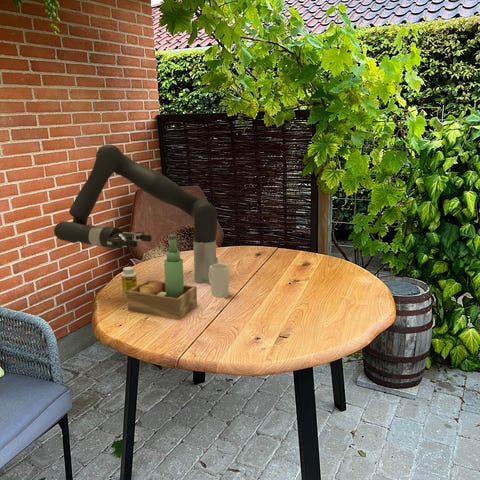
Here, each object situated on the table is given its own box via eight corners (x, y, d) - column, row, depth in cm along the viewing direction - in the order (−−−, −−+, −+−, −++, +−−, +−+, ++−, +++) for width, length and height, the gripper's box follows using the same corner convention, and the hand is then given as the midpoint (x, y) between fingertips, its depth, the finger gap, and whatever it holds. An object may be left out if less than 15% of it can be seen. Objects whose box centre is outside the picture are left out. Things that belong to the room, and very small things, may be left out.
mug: (232, 296, 167) (232, 266, 164) (218, 301, 163) (218, 270, 160) (215, 289, 174) (215, 260, 171) (202, 293, 170) (201, 264, 167)
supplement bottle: (125, 296, 167) (123, 271, 164) (120, 292, 171) (118, 267, 169) (139, 293, 170) (137, 268, 167) (134, 289, 174) (132, 265, 172)
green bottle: (180, 305, 156) (177, 232, 150) (187, 311, 151) (184, 235, 144) (164, 308, 154) (160, 234, 147) (170, 314, 148) (166, 238, 142)
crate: (149, 299, 164) (147, 277, 162) (197, 307, 157) (196, 284, 154) (128, 313, 152) (126, 288, 150) (179, 322, 145) (178, 296, 143)
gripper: (91, 230, 149) (131, 235, 143) (117, 222, 162) (155, 226, 156) (92, 251, 151) (132, 257, 145) (118, 242, 164) (155, 246, 158)
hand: (144, 241), depth 150 cm, fingers open, 8 cm apart
